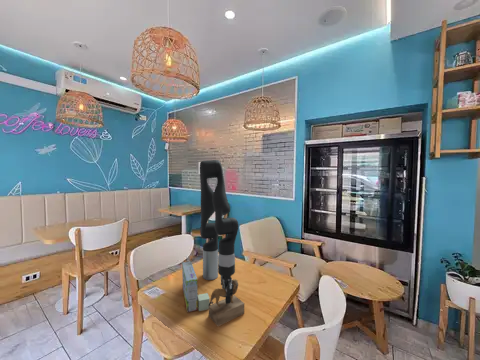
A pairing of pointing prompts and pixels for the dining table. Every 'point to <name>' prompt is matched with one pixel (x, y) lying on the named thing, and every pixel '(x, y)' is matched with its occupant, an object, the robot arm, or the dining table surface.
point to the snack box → (190, 286)
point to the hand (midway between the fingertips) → (226, 299)
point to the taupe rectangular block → (226, 311)
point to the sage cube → (203, 301)
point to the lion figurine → (223, 293)
